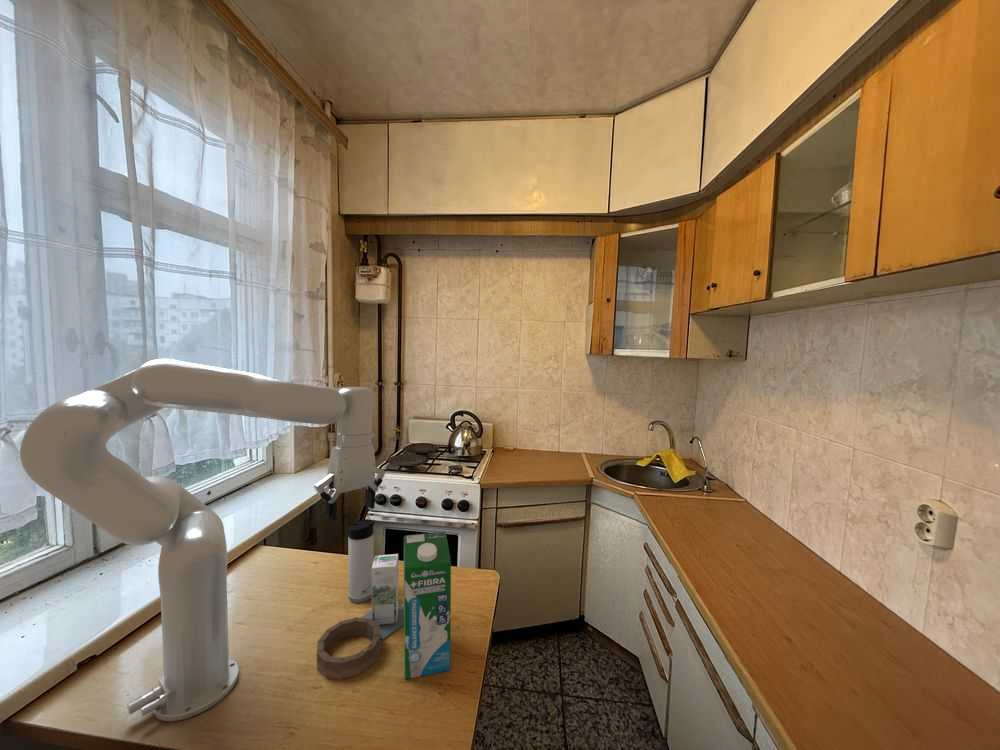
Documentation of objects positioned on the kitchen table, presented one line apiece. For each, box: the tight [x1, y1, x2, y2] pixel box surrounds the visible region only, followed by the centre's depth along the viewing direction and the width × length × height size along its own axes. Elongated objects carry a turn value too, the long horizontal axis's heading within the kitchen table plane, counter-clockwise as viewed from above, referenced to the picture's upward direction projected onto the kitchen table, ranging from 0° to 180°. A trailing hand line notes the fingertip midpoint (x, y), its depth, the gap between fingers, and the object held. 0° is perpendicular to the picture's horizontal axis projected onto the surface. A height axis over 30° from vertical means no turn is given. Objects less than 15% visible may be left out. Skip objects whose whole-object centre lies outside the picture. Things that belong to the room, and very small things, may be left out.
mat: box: [360, 602, 404, 642], centre depth 90 cm, size 10×10×1 cm
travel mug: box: [347, 518, 376, 604], centre depth 98 cm, size 6×7×20 cm
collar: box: [316, 616, 382, 681], centre depth 79 cm, size 12×12×4 cm
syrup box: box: [371, 553, 399, 626], centre depth 90 cm, size 6×6×14 cm
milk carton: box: [403, 530, 452, 680], centre depth 78 cm, size 9×9×25 cm
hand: (351, 512), depth 87 cm, fingers open, 9 cm apart
